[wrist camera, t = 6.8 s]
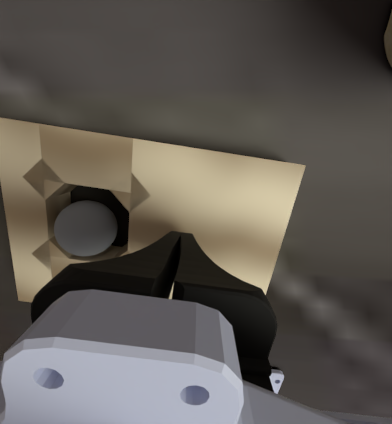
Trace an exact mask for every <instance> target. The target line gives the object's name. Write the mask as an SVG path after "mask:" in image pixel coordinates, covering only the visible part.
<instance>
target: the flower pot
mask: <svg viewBox="0 0 392 424" xmlns="http://www.w3.org/2000/svg"><path fill="white" fill-rule="evenodd" d="M384 47H385V51H386V56H387V59H388V61H389V63H390V65H391V67H392V11H391V15H390V19H389V22H388V26H387V29H386V31H385V34H384Z"/></svg>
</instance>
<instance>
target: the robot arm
mask: <svg viewBox="0 0 392 424" xmlns="http://www.w3.org/2000/svg"><path fill="white" fill-rule="evenodd" d="M173 283H174V285H173ZM172 287H173V293H172V299H169V296H170V293H171V290H172ZM31 319H32V325H31V326H30V327H29V328H28V329H27V330H26V331H25V332H24V333H23V334H22V336H21V337H20V338H19V339H18V340H17V341H16V342H15V343H14V344H13V345H12V346H11V347H10V348H9V349H8V350H7V351H6V352H5V353H4V358H3V361H0V424H392V418H384V417H375V416H366V415H358V414H349V413H340V412H332V411H323V410H316V409H313V408H311V407H308V406H306V405H304V404H301V403H299V402H296V401H294V400H291V399H289V398H286V397H284V396H281V395H279V394H278V391H279V389H280V386H281V384H282V381H283V379H284V375H283V373H282V371H280V370H274V369H271V366H270V363H269V360H268V356H269V353H270V350H271V347H272V344H273V342H274V339H275V336H276V331H277V321H276V316H275V314H274V312H273V310H272V307H271V305H270V303H269V301H268V299H267V297H266V295H265V294H264V292H263V290H262V289H261V288H259V287H257V286H254V285H252V284H249V283H247V282H245V281H242V280H240V279H239V278H237V277H235V276H233V275H231V274H230V273H228V272H226V271H225V270H224V269H222V268H221V267H219V266H218V265H217V264H215V263H214V262H213V261H212V260H211V259H210V258H209V257H208V256H207V255H206V254H205V253H204V251H203V250H202V249H201V247H200V246H199V244H198V243H197V241H196V239H195V237H194V235H193V234H192V233H184V232H177V231H170V232H169V233H167V234H166V235H165V236H163V237H162V238H160V239H159V240H157V241H156V242H154V243H152V244H150V245H149V246H147V247H145V248H143V249H140V250H138V251H136V252H133V253H130V254H126V255H123V256H120V257H116V258H111V259H106V260H101V261H94V262H84V263H73V264H69V265H68V266H66V267H65V268H64V269H63V270H62V271H61V272H60V273H58V274H57V275H56V276H55V277H54V278H53V279H52V280H50V281H49V282H48V283H47V284H46V285H45V286H44V287H42V288H41V289H40V291H39V292H38V293H37V294H36V295H35V296H34V299H33V301H32V304H31Z"/></svg>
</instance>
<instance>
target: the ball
mask: <svg viewBox="0 0 392 424" xmlns="http://www.w3.org/2000/svg"><path fill="white" fill-rule="evenodd" d="M117 229H118V225H117V220H116V217H115V215H114V214H113V212H112V211H111V210H110V209H109V208H108V207H107V206H105V205H103V204H101V203H99V202H96V201H90V200H85V201H78V202H75V203H72V204H70V205H69V206H67V207H66V208H64V209H63V210H62V211H61V212H60V214H59V215H58V217H57V219H56V221H55V224H54V234H55V238H56V240H57V242H58V244H59V245H60V246H61V247H62V248H63V249H64V250H65V251H67V252H69V253H71V254H73V255H77V256H92V255H96V254H99V253H101V252H103V251H104V250H106V249H107V248H108V247H109V246H110V245H111V244H112V243H113V241H114V239H115V237H116V234H117Z"/></svg>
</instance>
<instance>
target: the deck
mask: <svg viewBox="0 0 392 424" xmlns="http://www.w3.org/2000/svg"><path fill="white" fill-rule="evenodd" d="M305 166H306V165H300V164H293V163H287V162H281V161H274V160H268V159H261V158H255V157H249V156H242V155H236V154H229V153H223V152H217V151H210V150H204V149H198V148H191V147H185V146H178V145H172V144H166V143H159V142H153V141H146V140H140V139H134V138H127V137H121V136H114V135H108V134H102V133H95V132H89V131H82V130H76V129H70V128H63V127H57V126H51V125H44V124H38V123H31V122H25V121H19V120H12V119H6V118H0V182H1V188H2V195H3V202H4V208H5V215H6V221H7V228H8V235H9V241H10V248H11V254H12V261H13V267H14V274H15V281H16V287H17V294H18V300H19V301H25V302H32V301H33V299H34V296H35V295H36V294H37V293H38V292H39V291H40V289H41V288H42V287H44V286H45V285H46V284H47V283H48V282H49V281H50V280H52V279H53V278H54V277H55V276H56V275H57V274H58V273H60V272H61V271H62V270H63V269H64V268H65V267H66V266H68V265H69V264H73V263H84V262H94V261H101V260H106V259H111V258H116V257H120V256H123V255H126V254H130V253H133V252H136V251H138V250H140V249H143V248H145V247H147V246H149V245H150V244H152V243H154V242H156V241H157V240H159V239H160V238H162V237H163V236H165V235H166V234H167V233H169V232H170V231H177V232H184V233H192V234H193V235H194V237H195V239H196V241H197V243H198V244H199V246H200V247H201V249H202V250H203V251H204V253H205V254H206V255H207V256H208V257H209V258H210V259H211V260H212V261H213V262H214V263H215V264H217V265H218V266H219V267H221V268H222V269H224V270H225V271H226V272H228V273H230V274H231V275H233V276H235V277H237V278H239V279H240V280H242V281H245V282H247V283H249V284H252V285H254V286H257V287H259V288H261V289H262V290H263V292H264V294H265V295H266V292H267V289H268V286H269V282H270V279H271V276H272V273H273V269H274V266H275V263H276V260H277V257H278V253H279V250H280V247H281V244H282V240H283V237H284V234H285V231H286V228H287V224H288V221H289V218H290V215H291V211H292V208H293V205H294V202H295V199H296V195H297V192H298V189H299V186H300V182H301V179H302V176H303V173H304V170H305ZM78 185H81V186H88V187H95V188H101V189H108V190H110V191H111V192H112V193H113V194H114V195H115V196H116V197H117V199H118V200H119V201H120V202H121V203H122V204H123V205H124V207H125V208H126V209H127V210H128V211H129V233H128V243H127V244H126V245H124V246H123V247H119V246H112V245H110V246H109V247H108V248H107V249H106V250H104V251H103V252H101V253H99V254H96V255H92V256H77V255H73V254H71V253H69V252H67V251H65V250H64V249H63V248H62V247H61V246H60V245H59V244H58V242H57V240H56V238H55V234H54V224H55V221H56V219H57V217H58V215H59V214H60V212H61V211H62V210H63V209H64V208H66V207H67V206H69V205H70V204H71V195H70V192H71V191H72V190H73V189H74V188H75V187H76V186H78ZM173 285H174V283H173ZM172 293H173V287H172V290H171V293H170V296H169V299H172Z"/></svg>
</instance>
